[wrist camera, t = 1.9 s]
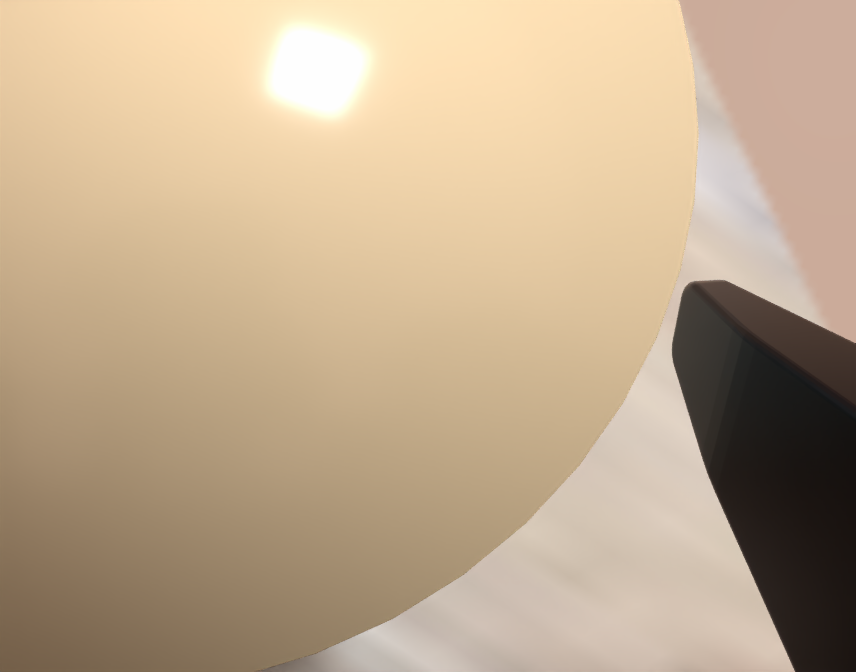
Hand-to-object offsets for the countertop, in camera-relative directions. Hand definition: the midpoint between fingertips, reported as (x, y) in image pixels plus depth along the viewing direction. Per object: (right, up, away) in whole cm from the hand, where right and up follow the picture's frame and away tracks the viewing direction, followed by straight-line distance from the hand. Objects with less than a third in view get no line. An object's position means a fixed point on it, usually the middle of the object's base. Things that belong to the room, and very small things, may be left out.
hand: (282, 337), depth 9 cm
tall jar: (0, -1, +9) cm, 9 cm away
